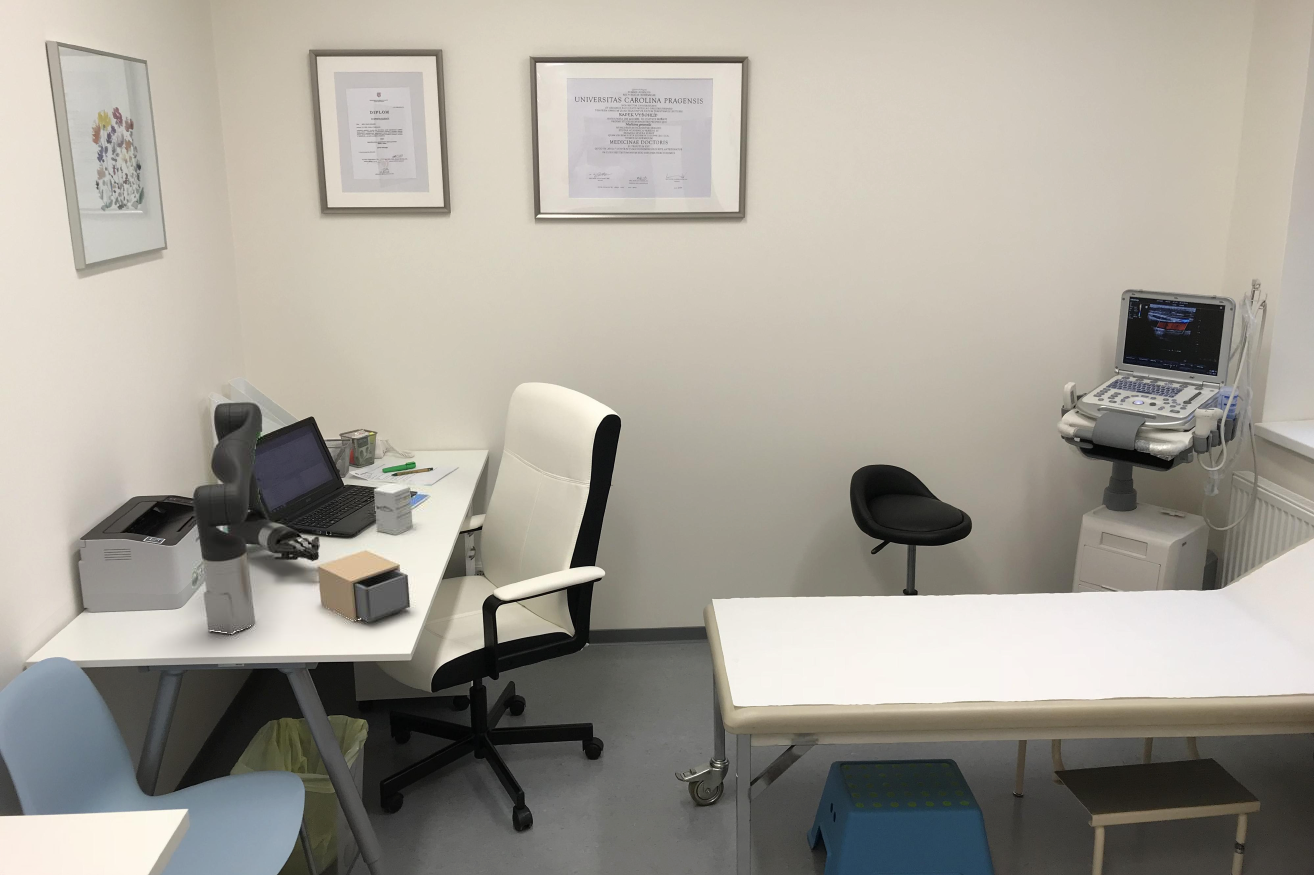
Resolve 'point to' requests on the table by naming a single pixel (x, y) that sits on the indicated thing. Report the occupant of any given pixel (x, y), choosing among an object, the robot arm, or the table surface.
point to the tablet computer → (418, 499)
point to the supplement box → (393, 508)
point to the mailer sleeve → (348, 579)
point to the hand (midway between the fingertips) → (315, 556)
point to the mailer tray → (381, 595)
